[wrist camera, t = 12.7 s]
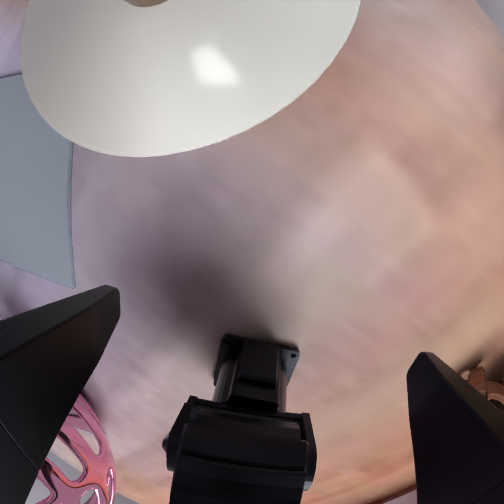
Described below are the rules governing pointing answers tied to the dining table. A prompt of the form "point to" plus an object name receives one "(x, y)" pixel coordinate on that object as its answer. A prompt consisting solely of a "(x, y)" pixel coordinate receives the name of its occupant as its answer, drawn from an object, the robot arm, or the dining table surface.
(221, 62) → the ceramic lid
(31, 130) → the rubber mat
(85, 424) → the spiral basket
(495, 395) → the pottery mug
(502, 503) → the robot arm
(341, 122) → the dining table surface
